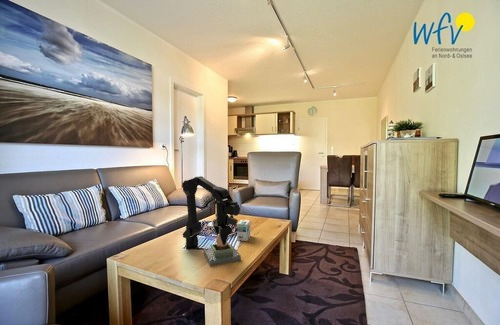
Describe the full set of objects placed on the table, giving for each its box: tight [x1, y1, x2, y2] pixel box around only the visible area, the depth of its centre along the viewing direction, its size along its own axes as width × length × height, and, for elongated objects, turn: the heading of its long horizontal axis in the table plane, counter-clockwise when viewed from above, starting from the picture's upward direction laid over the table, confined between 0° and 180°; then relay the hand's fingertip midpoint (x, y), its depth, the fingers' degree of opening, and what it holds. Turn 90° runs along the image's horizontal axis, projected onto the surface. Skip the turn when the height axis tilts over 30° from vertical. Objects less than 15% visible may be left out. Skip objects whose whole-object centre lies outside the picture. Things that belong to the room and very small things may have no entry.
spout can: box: [216, 234, 231, 250], centre depth 126 cm, size 7×6×10 cm
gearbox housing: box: [203, 241, 242, 267], centre depth 126 cm, size 16×16×6 cm
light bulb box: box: [236, 219, 251, 242], centre depth 154 cm, size 11×7×11 cm, turn 168°
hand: (221, 241), depth 125 cm, fingers open, 9 cm apart
